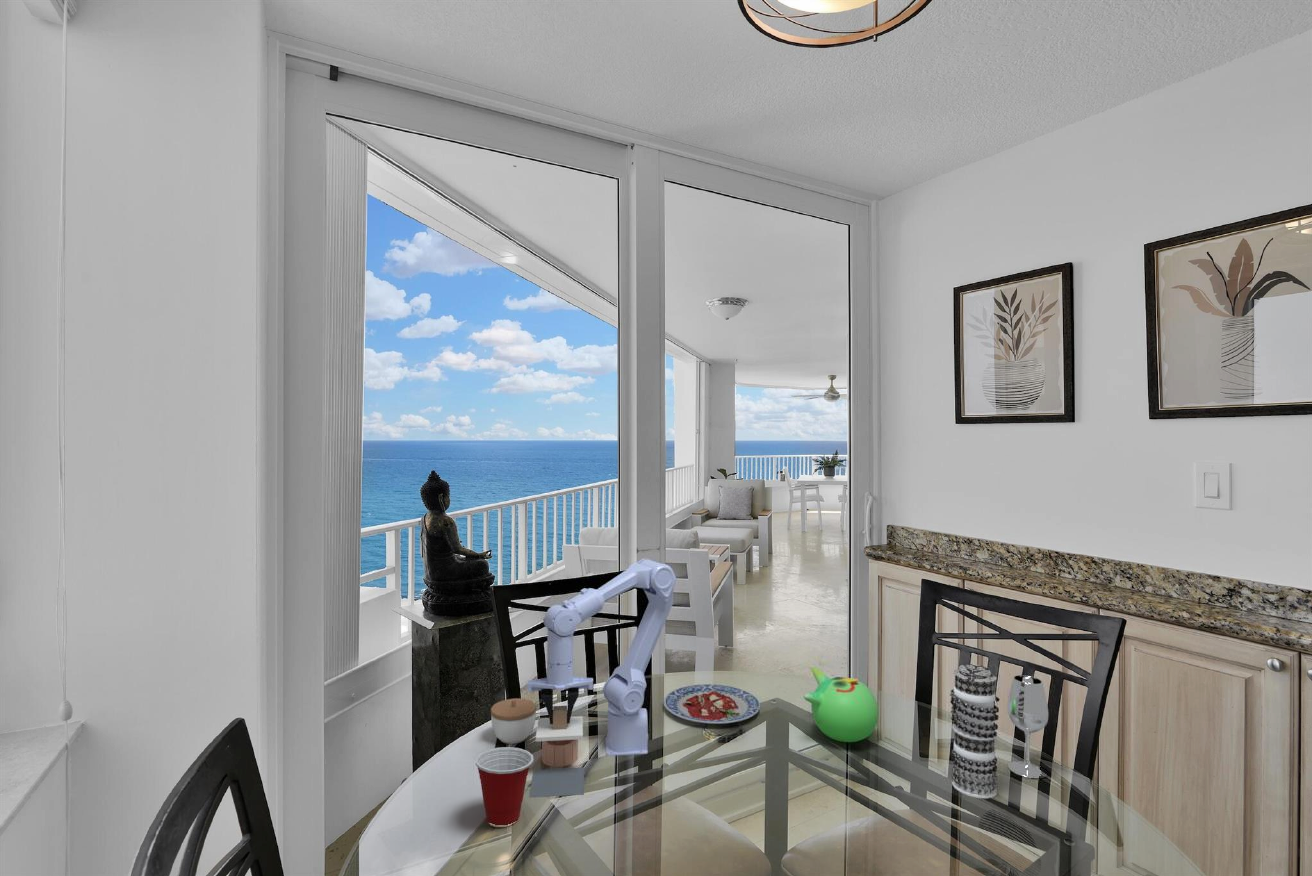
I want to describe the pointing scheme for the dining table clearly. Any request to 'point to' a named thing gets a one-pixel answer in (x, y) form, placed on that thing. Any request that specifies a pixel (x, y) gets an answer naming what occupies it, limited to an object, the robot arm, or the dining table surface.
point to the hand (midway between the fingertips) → (560, 722)
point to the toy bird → (843, 707)
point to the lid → (559, 726)
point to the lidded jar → (513, 719)
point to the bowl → (559, 752)
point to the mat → (557, 782)
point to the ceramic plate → (711, 703)
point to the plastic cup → (503, 782)
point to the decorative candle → (974, 731)
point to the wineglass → (1027, 717)
